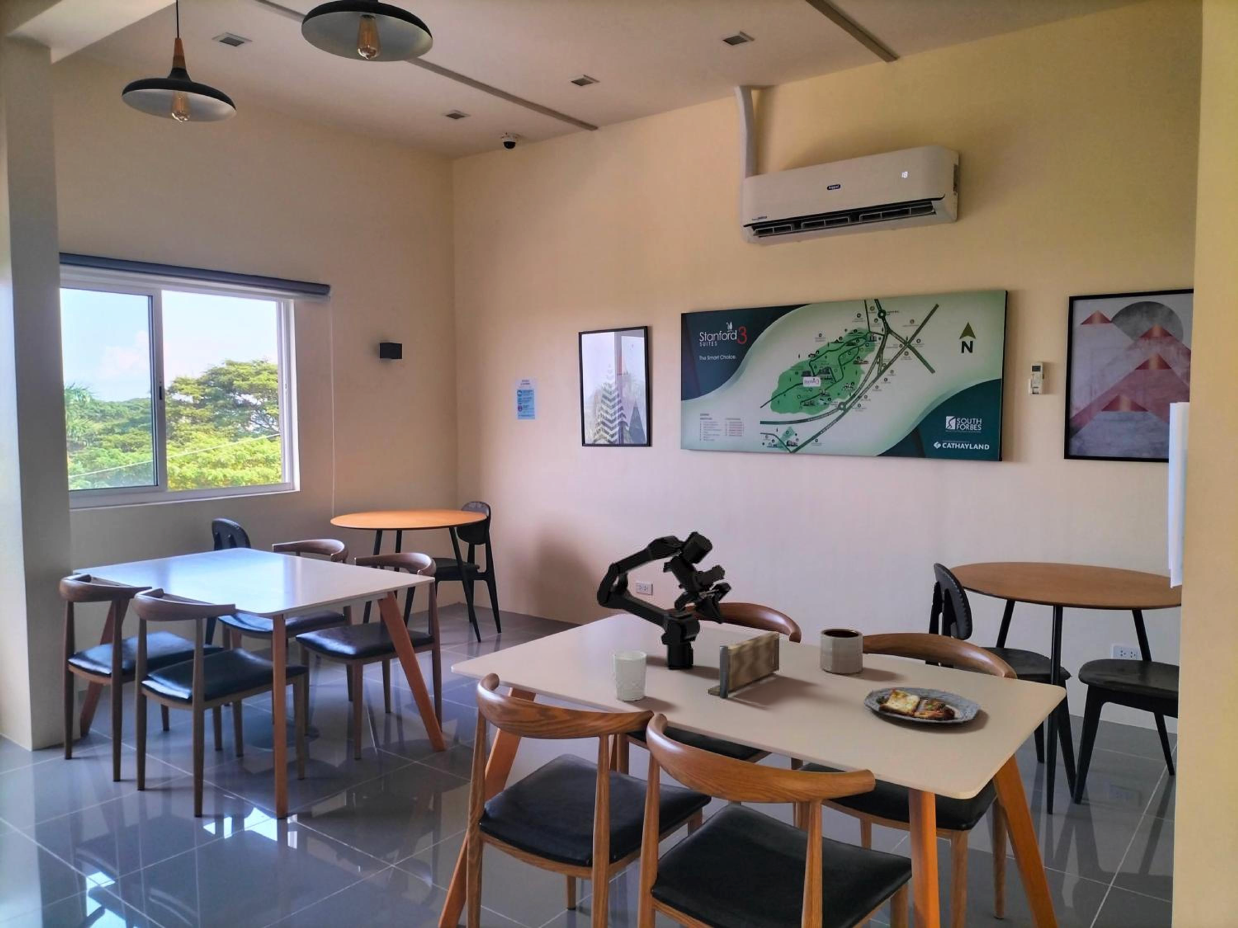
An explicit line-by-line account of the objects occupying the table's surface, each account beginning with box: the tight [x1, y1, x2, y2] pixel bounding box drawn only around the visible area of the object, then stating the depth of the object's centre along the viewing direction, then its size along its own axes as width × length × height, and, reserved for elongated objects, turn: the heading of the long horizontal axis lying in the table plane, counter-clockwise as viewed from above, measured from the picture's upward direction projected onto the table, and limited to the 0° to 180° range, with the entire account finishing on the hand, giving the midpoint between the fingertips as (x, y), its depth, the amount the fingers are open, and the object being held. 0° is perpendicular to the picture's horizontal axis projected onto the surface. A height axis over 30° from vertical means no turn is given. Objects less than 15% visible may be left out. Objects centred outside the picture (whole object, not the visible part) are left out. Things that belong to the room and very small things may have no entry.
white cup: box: [612, 650, 647, 702], centre depth 203 cm, size 8×8×10 cm
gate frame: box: [707, 645, 775, 699], centre depth 212 cm, size 26×6×12 cm, turn 139°
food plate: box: [863, 686, 981, 725], centre depth 192 cm, size 25×23×4 cm
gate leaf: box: [728, 630, 781, 690], centre depth 212 cm, size 22×2×10 cm, turn 139°
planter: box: [819, 628, 864, 675], centre depth 225 cm, size 11×11×10 cm
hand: (722, 623), depth 219 cm, fingers closed
